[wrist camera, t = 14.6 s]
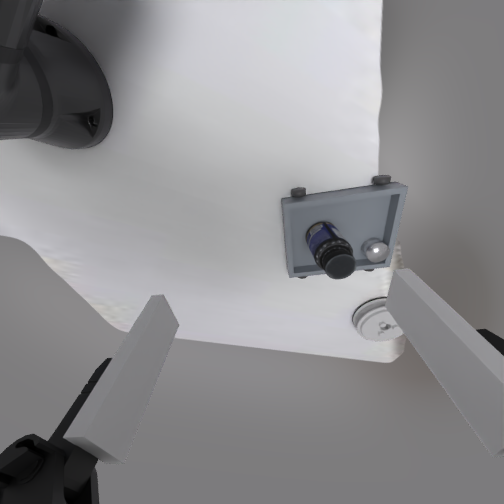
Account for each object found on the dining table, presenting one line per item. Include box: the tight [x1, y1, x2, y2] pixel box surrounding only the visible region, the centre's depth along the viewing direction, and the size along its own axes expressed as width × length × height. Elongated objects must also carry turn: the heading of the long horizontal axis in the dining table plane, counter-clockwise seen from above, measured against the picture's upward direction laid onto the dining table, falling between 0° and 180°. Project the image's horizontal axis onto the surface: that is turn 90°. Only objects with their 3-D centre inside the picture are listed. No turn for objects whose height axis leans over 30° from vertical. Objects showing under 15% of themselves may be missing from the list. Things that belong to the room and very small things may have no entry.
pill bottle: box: [306, 222, 357, 279], centre depth 36 cm, size 6×6×11 cm
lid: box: [353, 298, 404, 341], centre depth 51 cm, size 13×13×5 cm
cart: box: [281, 175, 408, 279], centre depth 39 cm, size 20×19×4 cm
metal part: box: [361, 237, 390, 263], centre depth 40 cm, size 4×4×3 cm
